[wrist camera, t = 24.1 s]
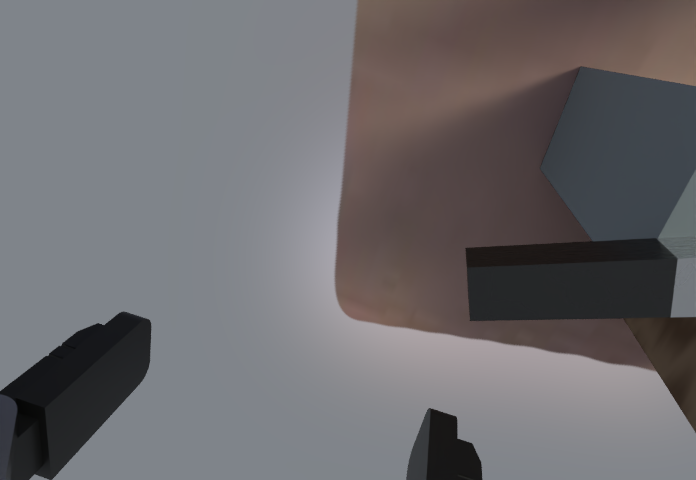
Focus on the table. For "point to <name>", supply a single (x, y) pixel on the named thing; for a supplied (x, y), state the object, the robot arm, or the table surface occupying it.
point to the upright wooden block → (671, 355)
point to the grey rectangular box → (626, 156)
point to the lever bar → (583, 280)
